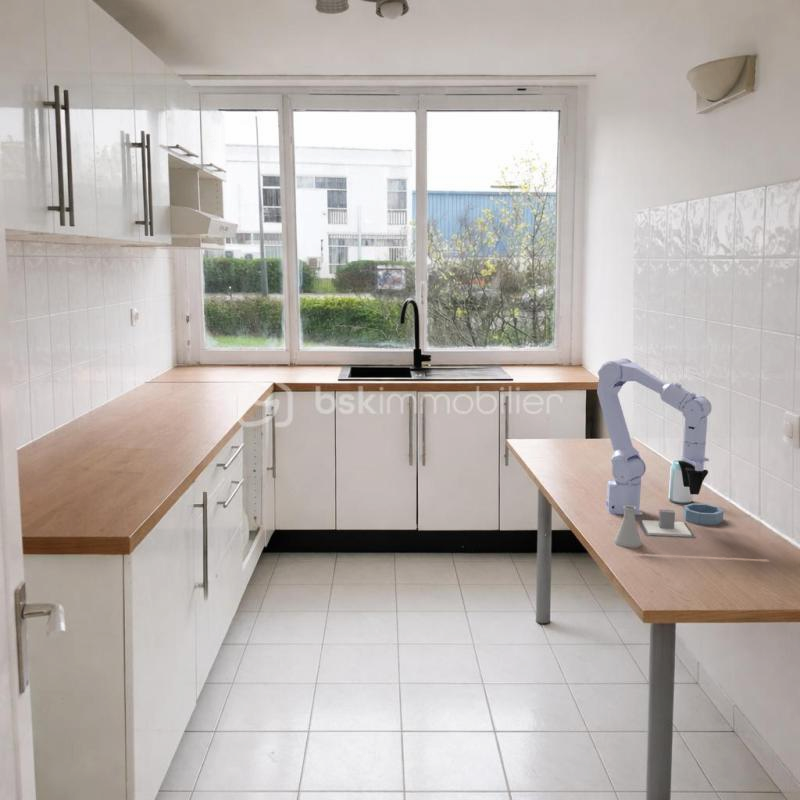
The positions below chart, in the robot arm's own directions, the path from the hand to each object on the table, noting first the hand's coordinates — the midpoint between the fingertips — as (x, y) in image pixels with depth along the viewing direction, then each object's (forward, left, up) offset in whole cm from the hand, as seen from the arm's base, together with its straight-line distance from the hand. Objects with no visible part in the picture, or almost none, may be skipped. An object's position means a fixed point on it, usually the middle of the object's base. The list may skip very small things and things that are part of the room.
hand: (691, 490), depth 244 cm
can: (+3, +25, -10) cm, 27 cm away
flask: (-19, -19, -10) cm, 29 cm away
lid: (-7, -6, -9) cm, 13 cm away
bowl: (+5, +5, -10) cm, 12 cm away
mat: (-7, -6, -10) cm, 14 cm away
